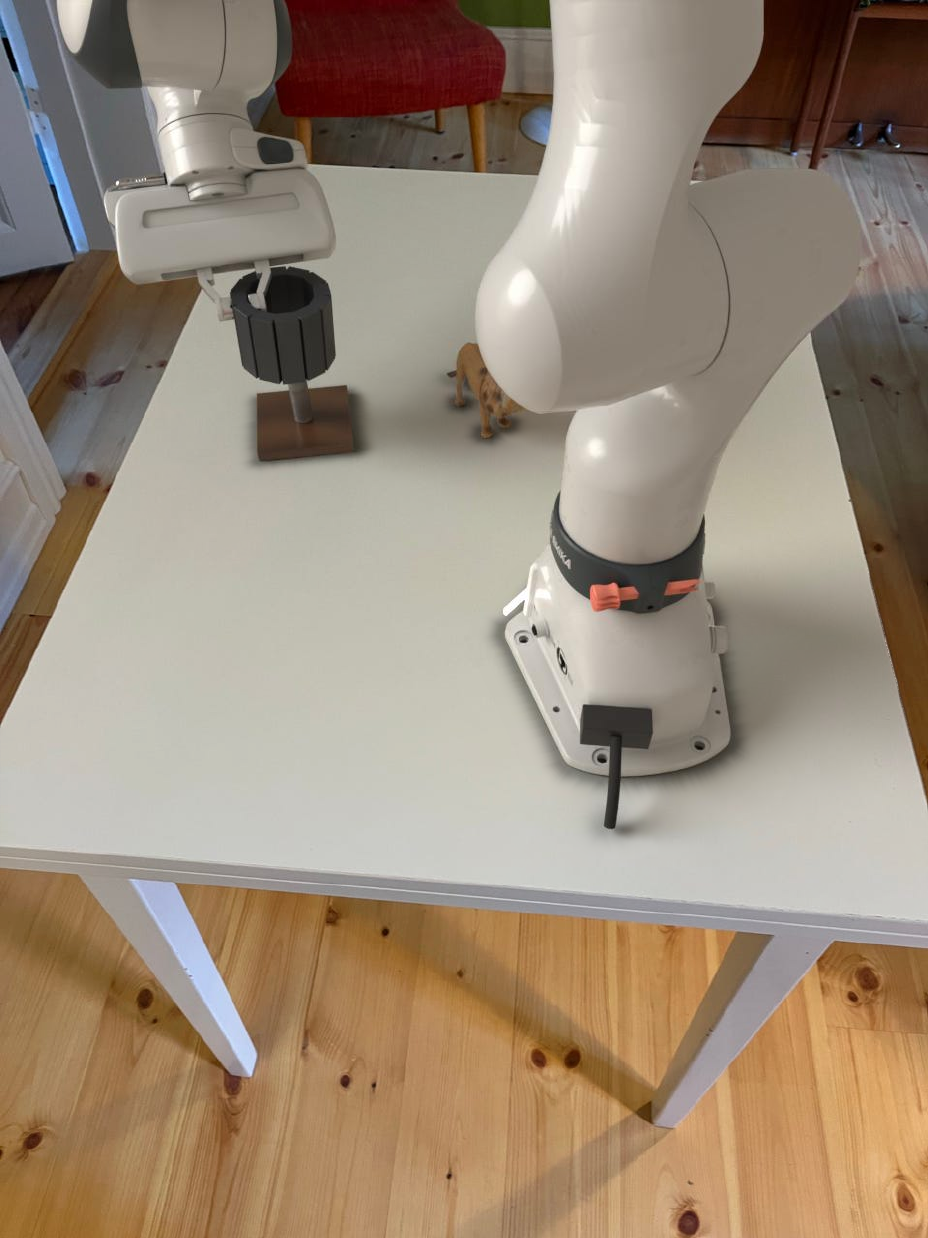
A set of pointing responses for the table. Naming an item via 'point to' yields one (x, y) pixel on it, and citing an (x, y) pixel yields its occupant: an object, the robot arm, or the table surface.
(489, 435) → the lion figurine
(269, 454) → the peg stand
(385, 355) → the table surface
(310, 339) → the dark grey grooved ring
